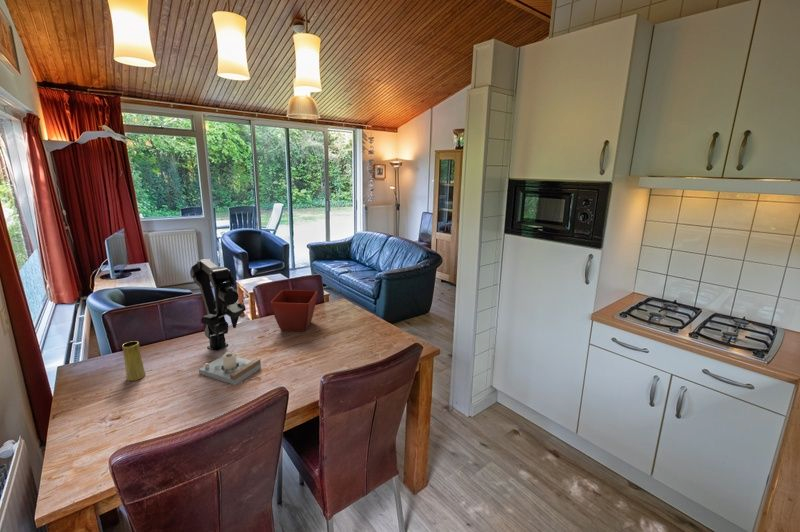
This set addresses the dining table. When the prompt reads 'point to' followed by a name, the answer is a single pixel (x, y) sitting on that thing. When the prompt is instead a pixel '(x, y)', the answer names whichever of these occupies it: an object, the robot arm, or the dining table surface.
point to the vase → (133, 361)
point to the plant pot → (294, 309)
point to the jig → (230, 376)
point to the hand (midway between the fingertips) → (226, 331)
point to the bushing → (229, 361)
